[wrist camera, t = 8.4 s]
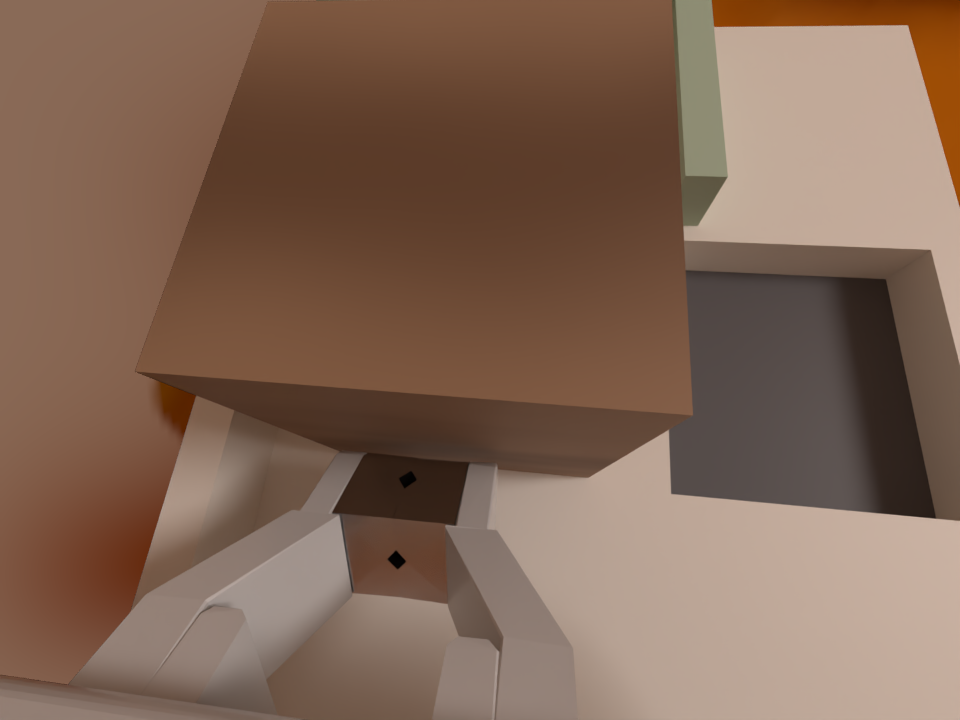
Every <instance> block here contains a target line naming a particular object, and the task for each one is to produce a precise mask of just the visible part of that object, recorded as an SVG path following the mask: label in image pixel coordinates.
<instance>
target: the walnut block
mask: <svg viewBox="0 0 960 720" xmlns="http://www.w3.org/2000/svg"><path fill="white" fill-rule="evenodd" d="M135 372H137V373H140V374H142V375H145V376H147V377H150V378H152V379H155V380H158V381H160V382H163V383H165V384H168V385H170V386H173V387H176V388H178V389H181V390H183V391H186V392H188V393H191V394H194V395H196V396H199V397H201V398H204V399H206V400H209V401H212V402H214V403H217V404H219V405H222V406H224V407H227V408H230V409H232V410H235V411H237V412H240V413H242V414H245V415H248V416H250V417H253V418H255V419H258V420H260V421H263V422H266V423H268V424H271V425H273V426H276V427H278V428H281V429H284V430H286V431H289V432H291V433H294V434H296V435H299V436H302V437H304V438H307V439H309V440H312V441H314V442H317V443H320V444H322V445H325V446H327V447H330V448H332V449H335V450H337V451H340V452H341V451H342V450H346V451H356V452H365V453H368V452H369V453H378V454H387V455H397V456H406V457H415V458H424V459H436V460H449V461H462V462H471V461H472V462H489V463H496V464H497V465H498V469H500V470H511V471H521V472H532V473H543V474H553V475H564V476H574V477H585V478H589V477H591V476H592V475H594V474H596V473H597V472H599V471H601V470H602V469H604V468H606V467H607V466H609V465H611V464H612V463H614V462H616V461H617V460H619V459H621V458H622V457H624V456H626V455H628V454H629V453H631V452H633V451H634V450H636V449H638V448H639V447H641V446H643V445H644V444H646V443H648V442H649V441H651V440H653V439H654V438H656V437H658V436H659V435H661V434H663V433H664V432H666V431H668V430H669V429H671V428H673V427H674V426H676V425H678V424H679V423H681V422H683V421H684V420H686V419H688V418H690V417H691V416H693V405H692V386H691V366H690V347H689V327H688V308H687V288H686V269H685V249H684V230H683V210H682V190H681V171H680V151H679V132H678V112H677V93H676V73H675V54H674V34H673V15H672V0H340V1H270V2H268V3H267V5H266V8H265V11H264V14H263V17H262V20H261V22H260V25H259V28H258V30H257V33H256V36H255V39H254V41H253V44H252V47H251V50H250V53H249V55H248V58H247V61H246V64H245V67H244V69H243V73H242V75H241V78H240V80H239V83H238V86H237V89H236V92H235V94H234V97H233V100H232V103H231V105H230V108H229V111H228V114H227V116H226V119H225V122H224V125H223V127H222V131H221V133H220V136H219V139H218V141H217V144H216V147H215V150H214V152H213V155H212V158H211V161H210V164H209V166H208V169H207V172H206V175H205V178H204V180H203V183H202V186H201V189H200V192H199V194H198V197H197V200H196V202H195V205H194V208H193V211H192V214H191V216H190V219H189V222H188V225H187V227H186V230H185V233H184V236H183V238H182V241H181V244H180V247H179V250H178V253H177V255H176V258H175V261H174V263H173V266H172V269H171V272H170V275H169V277H168V280H167V283H166V286H165V289H164V291H163V294H162V297H161V300H160V302H159V305H158V308H157V311H156V313H155V316H154V319H153V322H152V325H151V327H150V330H149V333H148V336H147V338H146V341H145V344H144V347H143V350H142V352H141V355H140V358H139V361H138V363H137V366H136V369H135Z"/></svg>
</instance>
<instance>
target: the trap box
mask: <svg viewBox="0 0 960 720" xmlns="http://www.w3.org/2000/svg"><path fill="white" fill-rule="evenodd" d="M316 1H340V0H316ZM672 15H673V34H674V54H675V73H676V93H677V112H678V132H679V151H680V171H681V190H682V210H683V230H684V249H685V269H686V288H687V308H688V327H689V347H690V366H691V386H692V405H693V416H691V417H690V418H688V419H686V420H684V421H683V422H681V423H679V424H678V425H676V426H674V427H673V428H671V429H669V430H668V431H666V432H664V433H663V434H661V435H659V436H658V437H656V438H654V439H653V440H651V441H649V442H648V443H646V444H644V445H643V446H641V447H639V448H638V449H636V450H634V451H633V452H631V453H629V454H628V455H626V456H624V457H622V458H621V459H619V460H617V461H616V462H614V463H612V464H611V465H609V466H607V467H606V468H604V469H602V470H601V471H599V472H597V473H596V474H594V475H592V476H591V477H589V478H585V477H574V476H564V475H553V474H543V473H532V472H521V471H511V470H500V469H498V477H497V502H496V523H495V530H497V531H498V532H499V534H500V535H501V537H502V538H503V540H504V541H505V543H506V545H507V546H508V548H509V549H510V551H511V552H512V554H513V555H514V557H515V559H516V560H517V562H518V563H519V565H520V566H521V568H522V569H523V571H524V573H525V574H526V576H527V577H528V579H529V580H530V582H531V583H532V585H533V587H534V588H535V590H536V591H537V593H538V594H539V596H540V597H541V599H542V600H543V602H544V604H545V605H546V607H547V608H548V610H549V611H550V613H551V614H552V616H553V618H554V619H555V621H556V622H557V624H558V625H559V627H560V628H561V630H562V632H563V633H564V635H565V636H566V638H567V639H568V641H569V642H570V644H571V646H572V647H573V654H574V669H575V684H576V700H577V715H578V720H960V207H959V204H958V200H957V197H956V193H955V190H954V186H953V183H952V179H951V176H950V172H949V169H948V165H947V162H946V158H945V155H944V151H943V148H942V144H941V141H940V137H939V133H938V130H937V126H936V123H935V119H934V116H933V112H932V109H931V105H930V102H929V98H928V95H927V91H926V88H925V84H924V81H923V77H922V74H921V70H920V67H919V63H918V60H917V56H916V53H915V49H914V45H913V42H912V38H911V35H910V31H909V28H908V25H900V26H787V27H714V22H713V11H712V1H711V0H672ZM339 452H340V451H337V450H335V449H332V448H330V447H327V446H325V445H322V444H320V443H317V442H314V441H312V440H309V439H307V438H304V437H302V436H299V435H296V434H294V433H291V432H289V431H286V430H284V429H281V428H278V427H276V426H273V425H271V424H268V423H266V422H263V421H260V420H258V419H255V418H253V417H250V416H248V415H245V414H242V413H240V412H237V411H235V410H232V409H230V408H227V407H224V406H222V405H219V404H217V403H214V402H212V401H209V400H206V399H204V398H201V397H199V396H196V398H195V401H194V404H193V408H192V411H191V414H190V418H189V421H188V424H187V427H186V431H185V434H184V437H183V441H182V444H181V447H180V450H179V454H178V457H177V460H176V464H175V467H174V470H173V474H172V477H171V480H170V484H169V487H168V490H167V493H166V496H165V500H164V503H163V506H162V510H161V513H160V516H159V520H158V523H157V526H156V529H155V533H154V536H153V539H152V542H151V546H150V549H149V552H148V555H147V559H146V562H145V565H144V569H143V572H142V575H141V578H140V582H139V585H138V588H137V592H136V595H135V598H134V602H133V605H132V608H131V611H132V610H133V609H134V607H135V606H136V605H137V604H138V603H139V602H140V601H141V599H142V598H143V597H144V596H145V595H146V594H147V593H149V592H151V591H153V590H154V589H156V588H158V587H160V586H161V585H163V584H165V583H166V582H168V581H170V580H172V579H173V578H175V577H177V576H179V575H180V574H182V573H184V572H185V571H187V570H189V569H191V568H192V567H194V566H196V565H198V564H199V563H201V562H203V561H205V560H206V559H208V558H210V557H211V556H213V555H215V554H217V553H218V552H220V551H222V550H224V549H225V548H227V547H229V546H230V545H232V544H234V543H236V542H237V541H239V540H241V539H243V538H244V537H246V536H248V535H249V534H251V533H253V532H255V531H256V530H258V529H260V528H262V527H263V526H265V525H267V524H269V523H270V522H272V521H274V520H275V519H277V518H279V517H281V516H282V515H284V514H286V513H288V512H289V511H291V510H297V511H300V510H301V508H302V507H303V505H304V503H305V502H306V500H307V499H308V497H309V496H310V494H311V493H312V491H313V490H314V488H315V486H316V485H317V483H318V482H319V480H320V479H321V477H322V476H323V474H324V473H325V471H326V469H327V468H328V466H329V465H330V463H331V462H332V460H333V459H334V457H335V456H336V454H337V453H339ZM131 611H130V612H131ZM457 636H459V635H458V633H457V630H456V627H455V625H454V622H453V619H452V617H451V614H450V611H449V608H448V604H443V603H436V602H430V601H423V600H416V599H409V598H402V597H392V596H380V595H369V594H357V593H352V597H351V598H350V599H349V600H348V601H347V602H346V603H345V604H344V605H343V606H342V607H341V608H340V609H339V610H338V611H337V612H336V613H335V614H334V615H333V616H332V617H331V618H329V619H328V620H327V621H326V622H325V623H324V624H323V625H322V626H321V627H320V628H319V629H318V630H317V631H316V632H315V633H314V634H313V635H312V636H311V637H310V638H309V639H308V640H307V641H306V642H305V643H304V644H303V645H302V646H301V647H300V648H298V649H297V650H296V651H295V652H294V653H293V654H292V655H291V656H290V657H289V658H288V659H287V660H286V661H285V662H284V663H283V664H282V665H281V666H280V667H279V668H278V669H277V670H276V671H275V672H274V673H273V674H272V675H271V676H270V677H269V678H267V679H266V681H267V684H268V687H269V690H270V693H271V696H272V699H273V702H274V705H275V708H276V711H277V715H279V716H286V717H293V718H300V719H307V720H432V717H433V712H434V707H435V702H436V697H437V692H438V687H439V682H440V677H441V672H442V667H443V662H444V657H445V652H446V647H447V644H448V643H450V642H451V641H452V640H453V639H455V638H456V637H457Z"/></svg>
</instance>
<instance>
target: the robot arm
mask: <svg viewBox="0 0 960 720" xmlns="http://www.w3.org/2000/svg"><path fill="white" fill-rule="evenodd" d="M497 477H498V465H497V464H496V463H489V462H472V461H471V462H462V461H449V460H436V459H424V458H415V457H406V456H397V455H387V454H378V453H369V452H368V453H365V452H356V451H346V450H342V451H341V452H339V453H337V454H336V456H335V457H334V459H333V460H332V462H331V463H330V465H329V466H328V468H327V469H326V471H325V473H324V474H323V476H322V477H321V479H320V480H319V482H318V483H317V485H316V486H315V488H314V490H313V491H312V493H311V494H310V496H309V497H308V499H307V500H306V502H305V503H304V505H303V507H302V508H301V510H300V511H297V510H291V511H289V512H288V513H286V514H284V515H282V516H281V517H279V518H277V519H275V520H274V521H272V522H270V523H269V524H267V525H265V526H263V527H262V528H260V529H258V530H256V531H255V532H253V533H251V534H249V535H248V536H246V537H244V538H243V539H241V540H239V541H237V542H236V543H234V544H232V545H230V546H229V547H227V548H225V549H224V550H222V551H220V552H218V553H217V554H215V555H213V556H211V557H210V558H208V559H206V560H205V561H203V562H201V563H199V564H198V565H196V566H194V567H192V568H191V569H189V570H187V571H185V572H184V573H182V574H180V575H179V576H177V577H175V578H173V579H172V580H170V581H168V582H166V583H165V584H163V585H161V586H160V587H158V588H156V589H154V590H153V591H151V592H149V593H147V594H146V595H145V596H144V597H143V598H142V599H141V601H140V602H139V603H138V604H137V605H136V606H135V607H134V609H133V610H132V611H131V612H130V613H129V614H128V616H127V617H126V618H125V619H124V620H123V621H122V623H121V624H120V625H119V626H118V627H117V628H116V629H115V631H114V632H113V633H112V634H111V635H110V636H109V638H108V639H107V640H106V641H105V642H104V643H103V644H102V646H101V647H100V648H99V649H98V650H97V651H96V653H95V654H94V655H93V656H92V657H91V658H90V659H89V661H88V662H87V663H86V664H85V665H84V667H83V668H82V669H81V670H80V671H79V672H78V673H77V674H76V676H75V677H74V678H73V679H72V680H71V681H70V683H69V684H68V685H67V684H60V683H53V682H46V681H39V680H32V679H25V678H18V677H11V676H5V675H0V720H307V719H300V718H293V717H286V716H279V715H277V711H276V708H275V705H274V702H273V699H272V696H271V693H270V690H269V687H268V684H267V681H266V679H267V678H269V677H270V676H271V675H272V674H273V673H274V672H275V671H276V670H277V669H278V668H279V667H280V666H281V665H282V664H283V663H284V662H285V661H286V660H287V659H288V658H289V657H290V656H291V655H292V654H293V653H294V652H295V651H296V650H297V649H298V648H300V647H301V646H302V645H303V644H304V643H305V642H306V641H307V640H308V639H309V638H310V637H311V636H312V635H313V634H314V633H315V632H316V631H317V630H318V629H319V628H320V627H321V626H322V625H323V624H324V623H325V622H326V621H327V620H328V619H329V618H331V617H332V616H333V615H334V614H335V613H336V612H337V611H338V610H339V609H340V608H341V607H342V606H343V605H344V604H345V603H346V602H347V601H348V600H349V599H350V598H351V597H352V593H357V594H369V595H380V596H392V597H402V598H409V599H416V600H423V601H430V602H436V603H443V604H448V608H449V611H450V614H451V617H452V619H453V622H454V625H455V627H456V630H457V633H458V635H459V636H457V637H456V638H455V639H453V640H452V641H451V642H450V643H448V644H447V647H446V652H445V657H444V662H443V667H442V672H441V677H440V682H439V687H438V692H437V697H436V702H435V707H434V712H433V717H432V720H578V715H577V700H576V684H575V669H574V654H573V647H572V646H571V644H570V642H569V641H568V639H567V638H566V636H565V635H564V633H563V632H562V630H561V628H560V627H559V625H558V624H557V622H556V621H555V619H554V618H553V616H552V614H551V613H550V611H549V610H548V608H547V607H546V605H545V604H544V602H543V600H542V599H541V597H540V596H539V594H538V593H537V591H536V590H535V588H534V587H533V585H532V583H531V582H530V580H529V579H528V577H527V576H526V574H525V573H524V571H523V569H522V568H521V566H520V565H519V563H518V562H517V560H516V559H515V557H514V555H513V554H512V552H511V551H510V549H509V548H508V546H507V545H506V543H505V541H504V540H503V538H502V537H501V535H500V534H499V532H498V531H497V530H495V523H496V502H497Z"/></svg>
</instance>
